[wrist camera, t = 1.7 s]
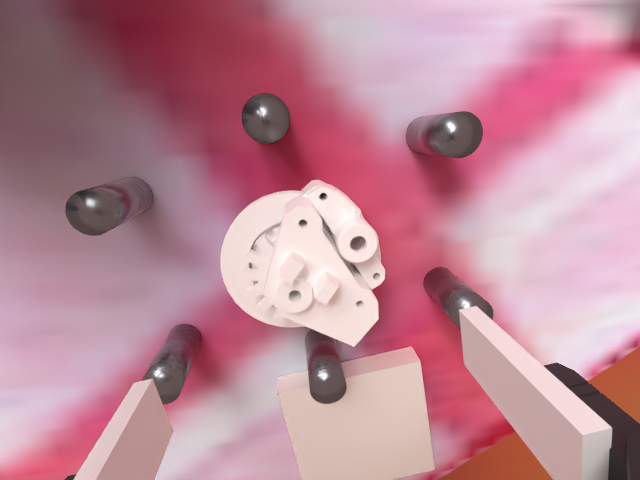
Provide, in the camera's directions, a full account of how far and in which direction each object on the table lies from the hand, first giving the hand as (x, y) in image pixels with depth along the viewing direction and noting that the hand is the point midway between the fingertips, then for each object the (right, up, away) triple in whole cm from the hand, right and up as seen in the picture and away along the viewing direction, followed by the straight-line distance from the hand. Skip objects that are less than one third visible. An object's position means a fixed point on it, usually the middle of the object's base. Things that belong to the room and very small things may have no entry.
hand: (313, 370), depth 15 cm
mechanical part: (-2, +5, +17) cm, 18 cm away
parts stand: (+4, -13, +23) cm, 27 cm away
